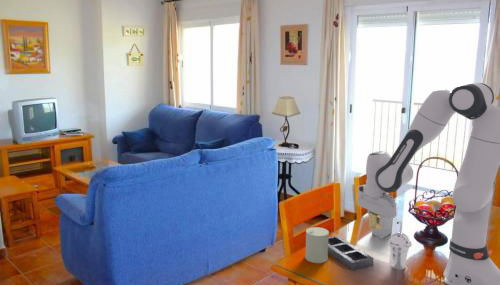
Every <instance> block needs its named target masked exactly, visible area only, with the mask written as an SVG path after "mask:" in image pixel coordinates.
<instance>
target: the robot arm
mask: <svg viewBox="0 0 500 285" xmlns="http://www.w3.org/2000/svg"><path fill="white" fill-rule="evenodd" d="M494 100H495V93H494V91H493V90H492V88H491V87H490V86H488V85H487V84H485V83H483V82H475V81H472V82H471V81H470V82H466V83H464V82H463V83H461V84H458V85H457V86H455V87H454V88H453V89H452V90H451V91H450V90H449V89H445V88H436V89H434V90H432V92H431V93H430V94H429V95H427V97H426V99H425V100H424V101H423V103H422V104H421V106H420V107H419V109H418V110H417V112H416V114H415V116H414V118H413V119H412V122H411V124H410V126H409V128H408V130H407V131H406V133H405V135H404V137H403V139H402V140H401V141H400V144H399V145H398V146H397V148H396V150H395V151H394V153H393V154H392V155H391V154H389V153H388V152H387V151H385V150H382V151H379V150H378V151H373V152H372V153H369V154H368V156H367V158H366V166H365V167H366V168H365V174H366V180H365V184H362V185H361V184H360V185H358V186H357V190H358V192H357V204H358V206H359V207H361V208H363V209H366V212H367V215H368V216H369V213H372V212H374V213H377V214H379V215H380V217H381V218H380V220H378V224H379V225H383V224H384V219H385V218H388V219H391V218H393V219H394V218H396V217H397V203H396V199H395V198H394V196H393V195H392V193H395V192H397V191H399V189H400V188H402V187H403V186H405V185H407V184H408V183H410V182H411V180H412V179H413V177H414V170H413V167H412V165H411V164H410V162H411V161H412V159H413V158H414V156H415V155H416V154H417V153H418V151H420V150H421V149H423V147H425V146H427V145H428V144H429V143H432V142H433V141H434V140H436V138H438V137H439V135H441V133H442V132H443V130H444V129H445V128H446V126H447V124H448V123H449V121H450V120H451V118H452V117H453V116H454V115H455V113H457V115H460V116H463V117H464V118H466V119H468V120H472V129H471V132H470V136H469V140H468V143H467V146H466V150H465V154H464V158H463V160H462V163H461V166H460V169H459V171H458V173H457V174H458V175H457V178H456V180H455V183H454V187H453V191H452V201H453V204H454V205H455V206H456V207H455V212H454V216H453V221H452V230H451V238H450V239H449V245H448V246H449V254H448V259H447V264H446V266H445V269H444V271H443V277H444V283H445V284H446V285H500V268H499V267H498V266H497V265H496V264H495V263H494V261H493V259H491V258H490V255H491V254H492V252H493V250H488V246H487V244H486V242H487V235H488V233H487V232H488V225H489V219H490V213H491V207H492V203H493V194H494V182H495V179H496V176H497V174H498V171H499V168H500V107H499V106H495V105H493V103H494Z"/></svg>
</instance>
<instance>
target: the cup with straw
mask: <svg viewBox="0 0 500 285" xmlns="http://www.w3.org/2000/svg"><path fill="white" fill-rule="evenodd" d="M396 224H397V225H399V232H395V233H394V234H392V236H391V237H390V238H389V239H388V244H389V246H390V249H391V250H390V251H391V264H392V266H391V267H392V268H393V269H395V270H405V266H406V263H407V262H406V261H407V256H408V253H409V250H410V247H412V245H413V244H412V241H411V240H410V239H409V236H408V235H407V234H406V233H403V232H402V231H403V230H402V229H403V220H398V221H396Z"/></svg>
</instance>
